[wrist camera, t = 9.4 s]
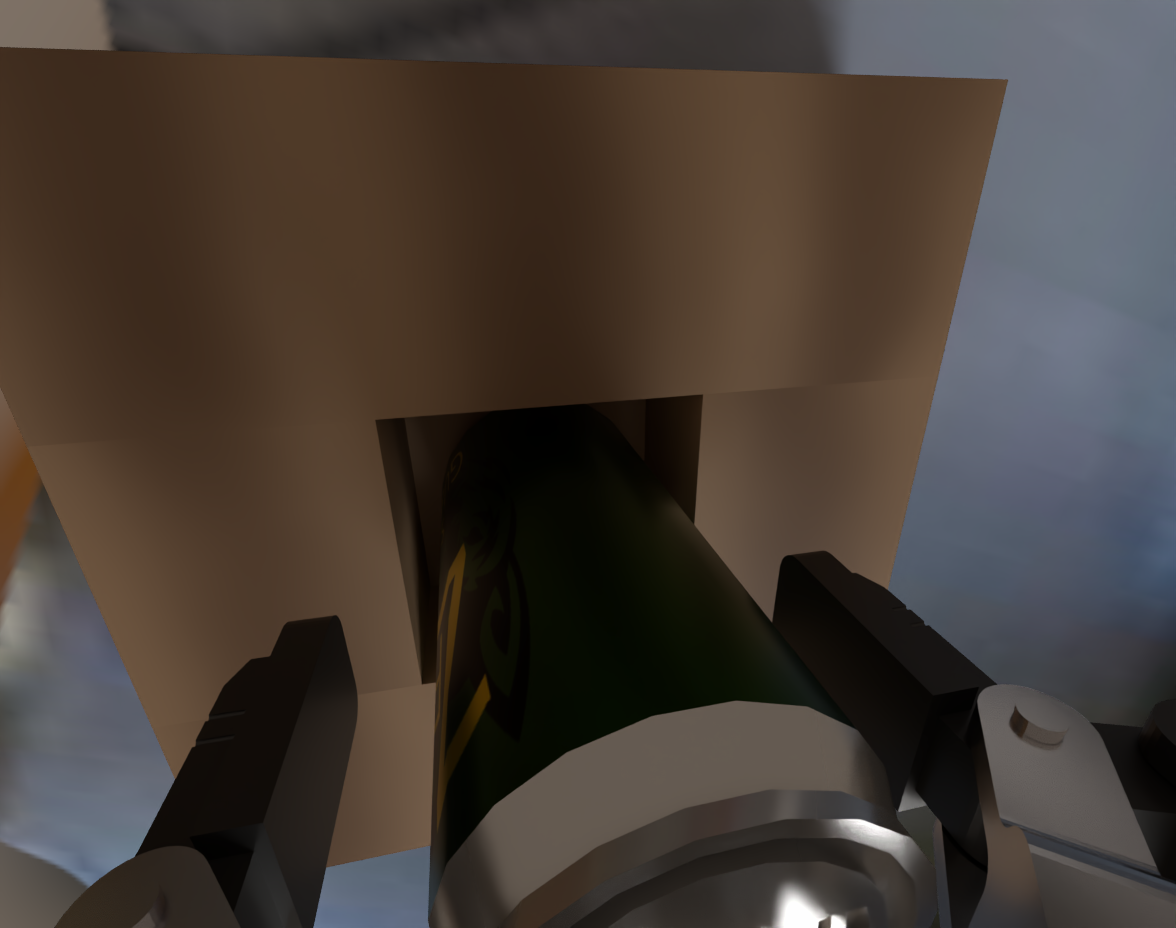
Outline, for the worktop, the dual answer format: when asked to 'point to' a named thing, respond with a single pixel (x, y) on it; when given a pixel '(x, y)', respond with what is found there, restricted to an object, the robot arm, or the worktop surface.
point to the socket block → (453, 333)
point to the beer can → (633, 715)
